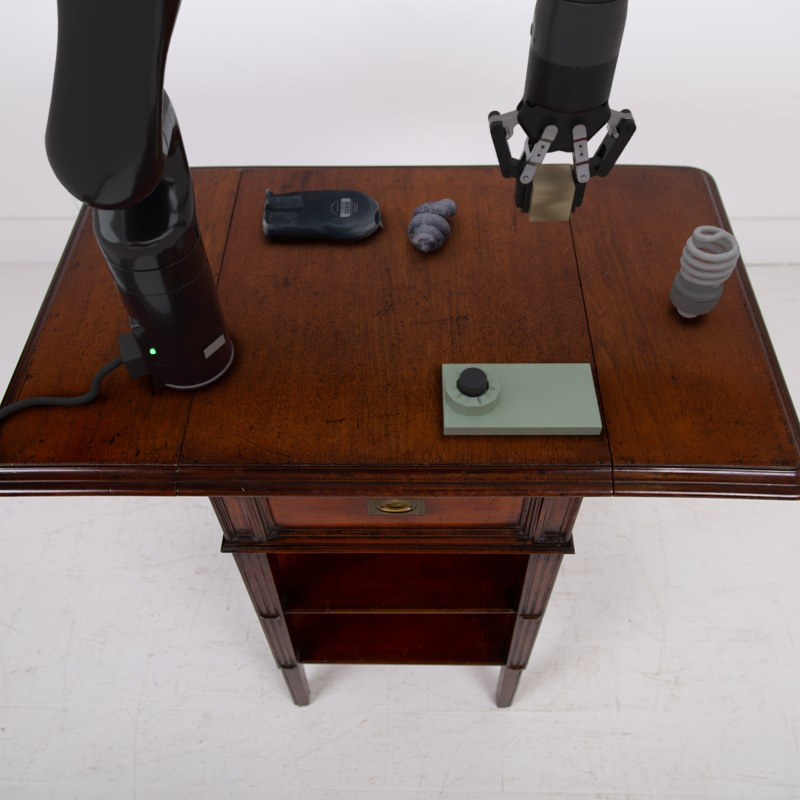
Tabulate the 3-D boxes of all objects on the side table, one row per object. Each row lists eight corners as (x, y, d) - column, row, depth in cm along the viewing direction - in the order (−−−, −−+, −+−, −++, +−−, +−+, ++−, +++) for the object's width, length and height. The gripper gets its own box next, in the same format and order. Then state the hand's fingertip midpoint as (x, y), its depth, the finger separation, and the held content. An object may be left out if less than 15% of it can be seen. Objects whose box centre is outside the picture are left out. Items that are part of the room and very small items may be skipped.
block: (528, 221, 76) (533, 188, 73) (524, 197, 79) (529, 163, 75) (568, 221, 76) (575, 187, 73) (562, 196, 79) (569, 163, 75)
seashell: (434, 220, 102) (421, 272, 96) (410, 192, 99) (395, 243, 93) (466, 204, 98) (455, 256, 93) (442, 174, 95) (429, 226, 90)
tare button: (459, 397, 78) (460, 387, 77) (458, 376, 79) (459, 367, 78) (486, 397, 78) (487, 387, 76) (485, 376, 79) (486, 366, 78)
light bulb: (715, 306, 89) (751, 224, 80) (706, 338, 86) (742, 257, 76) (667, 293, 91) (696, 211, 81) (656, 324, 87) (685, 242, 78)
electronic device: (268, 259, 97) (383, 242, 96) (256, 222, 94) (375, 203, 92) (275, 222, 104) (382, 205, 103) (264, 185, 100) (375, 167, 99)
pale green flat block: (443, 435, 78) (444, 417, 76) (441, 371, 83) (442, 353, 81) (599, 435, 78) (605, 417, 75) (587, 371, 83) (592, 353, 81)
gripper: (494, 64, 61) (479, 232, 75) (670, 61, 61) (623, 230, 75) (487, 21, 66) (474, 186, 79) (650, 18, 66) (609, 184, 79)
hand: (546, 207), depth 77 cm, fingers closed on block, 4 cm apart
